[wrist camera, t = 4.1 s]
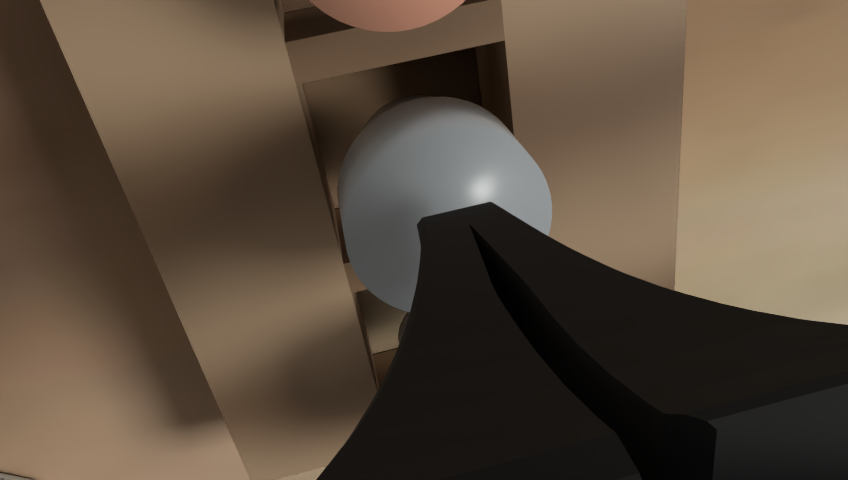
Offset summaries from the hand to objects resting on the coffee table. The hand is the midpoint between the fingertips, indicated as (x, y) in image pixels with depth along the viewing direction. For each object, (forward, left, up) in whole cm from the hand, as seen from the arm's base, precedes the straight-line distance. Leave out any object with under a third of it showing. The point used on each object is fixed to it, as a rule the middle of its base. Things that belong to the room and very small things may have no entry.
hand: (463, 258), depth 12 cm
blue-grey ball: (0, 0, -5) cm, 5 cm away
